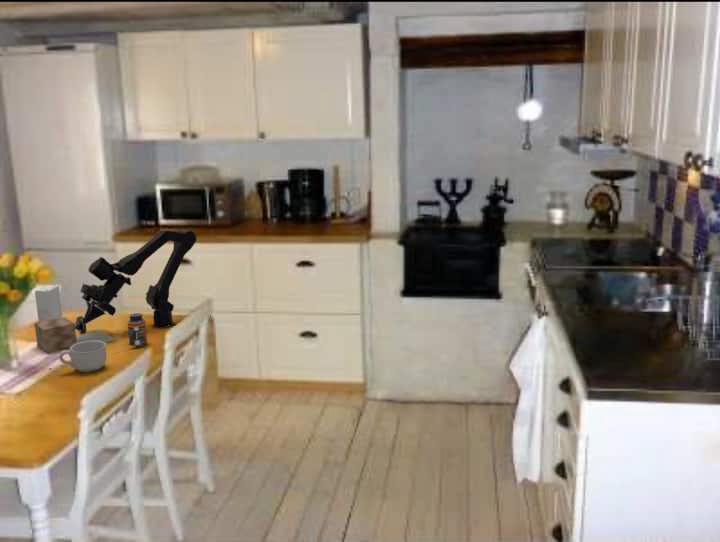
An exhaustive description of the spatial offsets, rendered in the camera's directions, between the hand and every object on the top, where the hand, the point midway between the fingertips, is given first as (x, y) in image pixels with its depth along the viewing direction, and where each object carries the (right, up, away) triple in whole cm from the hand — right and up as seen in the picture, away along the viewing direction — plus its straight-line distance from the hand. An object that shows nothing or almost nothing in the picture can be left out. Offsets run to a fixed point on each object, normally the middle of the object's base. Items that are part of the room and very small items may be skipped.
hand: (83, 323), depth 242 cm
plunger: (-4, -5, -3) cm, 7 cm away
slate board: (-2, -8, -1) cm, 8 cm away
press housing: (-7, -8, -5) cm, 12 cm away
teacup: (+11, -13, -26) cm, 31 cm away
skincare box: (-24, -2, +27) cm, 36 cm away
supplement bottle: (+21, -8, -3) cm, 22 cm away
